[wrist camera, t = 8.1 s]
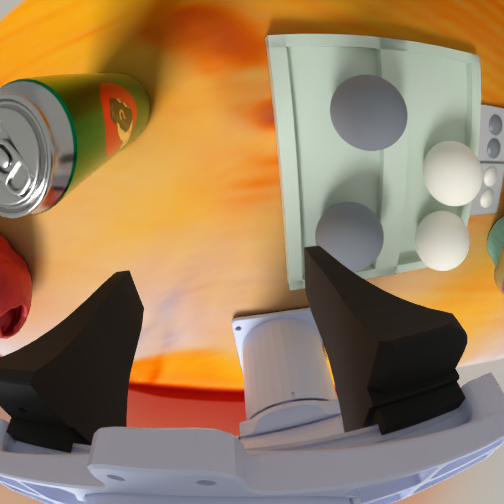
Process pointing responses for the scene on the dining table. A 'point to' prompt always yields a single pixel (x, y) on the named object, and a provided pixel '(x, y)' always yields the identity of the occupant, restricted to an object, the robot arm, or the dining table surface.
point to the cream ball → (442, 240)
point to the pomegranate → (13, 290)
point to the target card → (490, 160)
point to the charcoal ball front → (368, 112)
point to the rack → (360, 161)
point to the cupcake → (497, 251)
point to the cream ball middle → (452, 173)
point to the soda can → (63, 134)
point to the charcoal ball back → (350, 235)
